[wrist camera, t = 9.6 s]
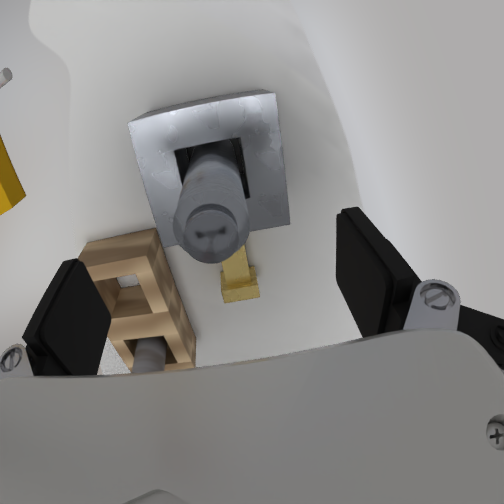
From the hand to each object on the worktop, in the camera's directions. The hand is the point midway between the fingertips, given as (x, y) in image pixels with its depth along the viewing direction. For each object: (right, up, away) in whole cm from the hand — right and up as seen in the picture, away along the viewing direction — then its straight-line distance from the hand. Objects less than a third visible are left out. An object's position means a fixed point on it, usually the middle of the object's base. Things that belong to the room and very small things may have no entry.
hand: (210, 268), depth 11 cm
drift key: (-1, +2, +20) cm, 20 cm away
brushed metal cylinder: (-2, +9, +15) cm, 18 cm away
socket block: (-2, +9, +15) cm, 18 cm away
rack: (-11, -4, +23) cm, 26 cm away
